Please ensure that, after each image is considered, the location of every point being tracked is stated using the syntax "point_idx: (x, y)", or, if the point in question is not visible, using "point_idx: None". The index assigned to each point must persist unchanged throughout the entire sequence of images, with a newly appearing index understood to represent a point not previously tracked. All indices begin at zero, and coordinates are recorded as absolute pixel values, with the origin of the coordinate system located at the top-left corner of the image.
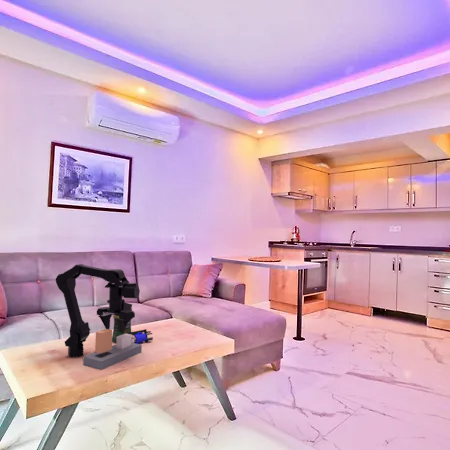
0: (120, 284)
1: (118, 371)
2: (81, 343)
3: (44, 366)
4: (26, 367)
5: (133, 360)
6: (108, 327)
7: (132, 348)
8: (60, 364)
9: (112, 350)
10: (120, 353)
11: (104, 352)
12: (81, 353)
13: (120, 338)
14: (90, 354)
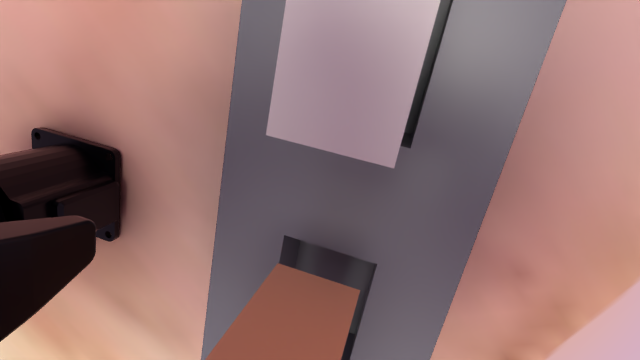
0: None
1: (516, 350)
2: (3, 200)
3: (60, 329)
4: (11, 348)
5: (541, 117)
6: (32, 271)
7: (530, 70)
8: (100, 296)
9: (326, 199)
10: (462, 262)
11: (282, 251)
12: (98, 207)
13: (358, 153)
14: (215, 324)
